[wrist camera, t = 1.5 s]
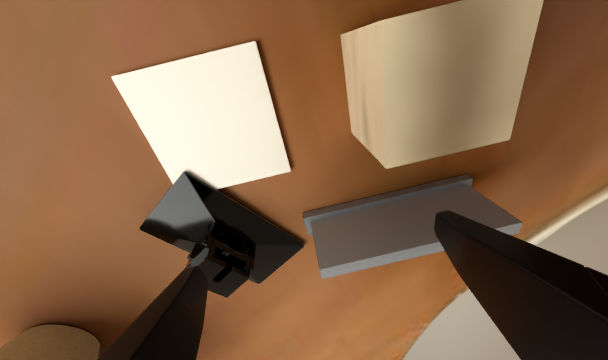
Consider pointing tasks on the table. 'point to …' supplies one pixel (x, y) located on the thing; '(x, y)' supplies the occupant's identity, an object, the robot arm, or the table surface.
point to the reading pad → (209, 116)
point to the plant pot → (52, 344)
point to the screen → (396, 224)
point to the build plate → (219, 235)
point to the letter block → (438, 78)
